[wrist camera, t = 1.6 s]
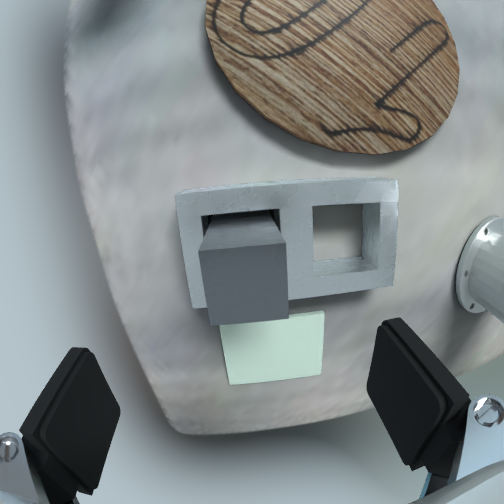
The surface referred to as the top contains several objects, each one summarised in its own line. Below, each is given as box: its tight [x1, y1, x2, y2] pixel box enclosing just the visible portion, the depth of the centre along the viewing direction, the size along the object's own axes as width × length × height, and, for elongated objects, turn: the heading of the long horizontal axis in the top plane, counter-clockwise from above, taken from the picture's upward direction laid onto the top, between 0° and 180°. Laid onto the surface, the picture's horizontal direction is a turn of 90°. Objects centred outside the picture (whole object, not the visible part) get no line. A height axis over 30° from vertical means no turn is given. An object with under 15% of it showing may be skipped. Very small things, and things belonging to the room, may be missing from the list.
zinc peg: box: [198, 209, 289, 326], centre depth 20 cm, size 4×4×10 cm
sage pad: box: [219, 310, 324, 385], centre depth 28 cm, size 10×8×1 cm
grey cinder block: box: [175, 177, 398, 308], centre depth 23 cm, size 17×9×4 cm, turn 95°
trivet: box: [205, 0, 459, 154], centre depth 18 cm, size 25×25×2 cm
